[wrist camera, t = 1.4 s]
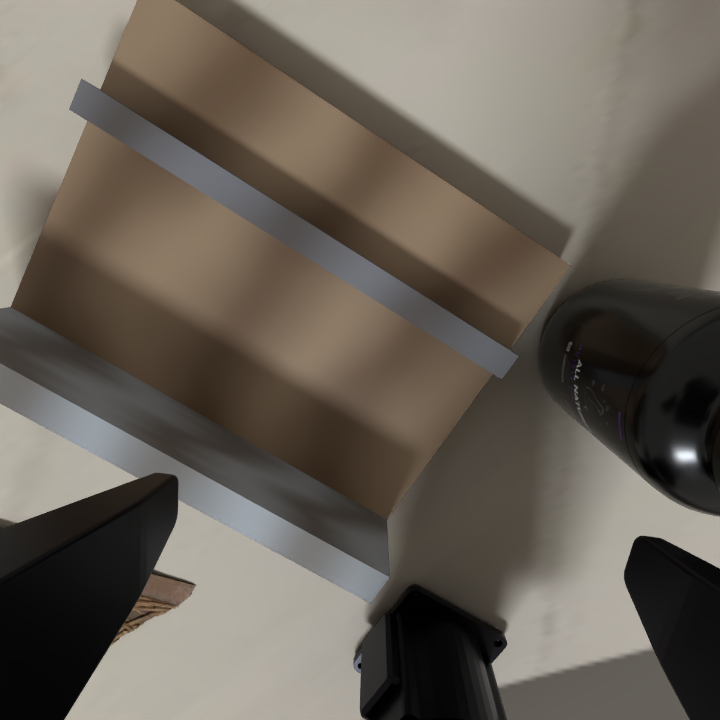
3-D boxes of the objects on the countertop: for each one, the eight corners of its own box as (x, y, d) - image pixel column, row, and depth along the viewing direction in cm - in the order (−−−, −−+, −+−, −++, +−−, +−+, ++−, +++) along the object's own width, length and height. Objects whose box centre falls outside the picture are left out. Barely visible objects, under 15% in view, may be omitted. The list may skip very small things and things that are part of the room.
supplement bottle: (503, 359, 22) (659, 488, 10) (610, 246, 20) (938, 244, 9) (602, 445, 22) (849, 656, 11) (710, 343, 21) (1128, 460, 9)
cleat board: (557, 264, 20) (622, 270, 15) (371, 524, 24) (370, 603, 19) (163, 1, 18) (77, -99, 13) (23, 329, 22) (-89, 355, 17)
